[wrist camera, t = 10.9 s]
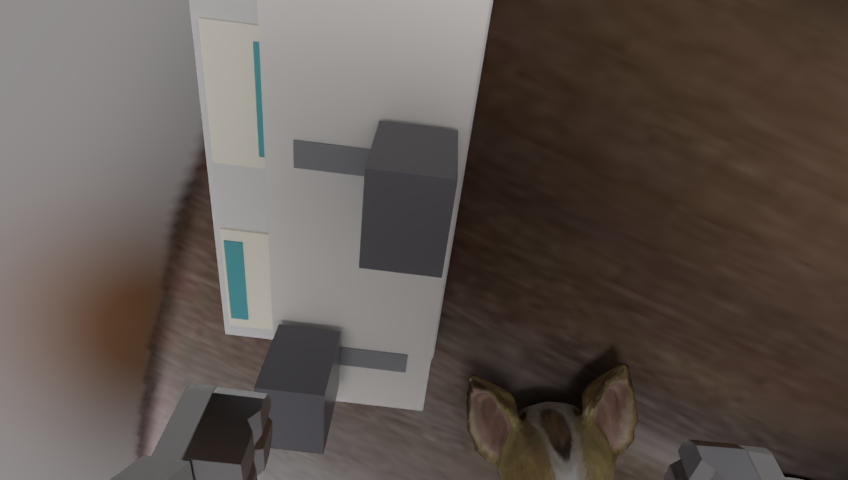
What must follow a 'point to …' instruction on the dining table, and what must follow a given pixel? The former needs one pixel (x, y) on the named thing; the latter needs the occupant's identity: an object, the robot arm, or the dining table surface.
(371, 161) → the slider middle
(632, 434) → the ceramic sculpture
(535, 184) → the dining table surface
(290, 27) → the switch unit
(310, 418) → the slider
